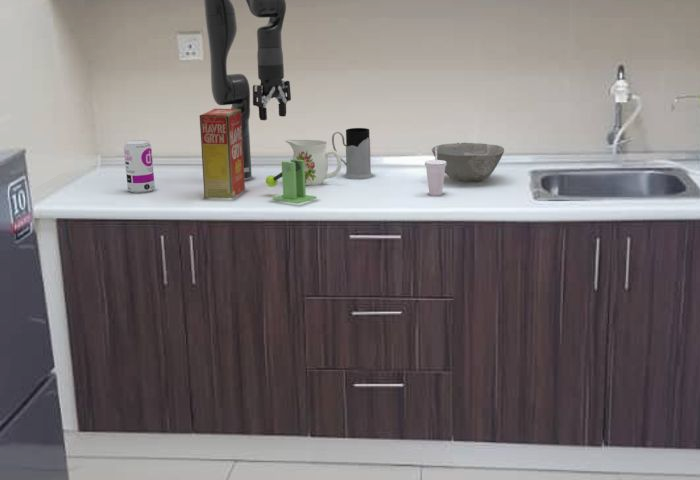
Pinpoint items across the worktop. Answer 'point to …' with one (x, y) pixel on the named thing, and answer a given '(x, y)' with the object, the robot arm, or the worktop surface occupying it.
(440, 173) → the smoothie
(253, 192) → the worktop surface
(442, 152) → the ceramic bowl
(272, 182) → the switch lever
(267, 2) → the robot arm
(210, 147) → the food packaging
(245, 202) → the worktop surface
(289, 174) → the green crank stand
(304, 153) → the pitcher
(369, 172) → the glass holder
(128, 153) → the supplement can
